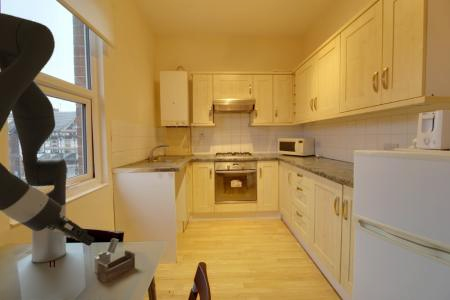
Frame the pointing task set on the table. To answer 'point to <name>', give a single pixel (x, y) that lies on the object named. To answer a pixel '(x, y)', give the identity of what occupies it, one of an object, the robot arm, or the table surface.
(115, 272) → the open wooden box
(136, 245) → the table surface
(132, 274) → the table surface
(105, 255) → the lighter
